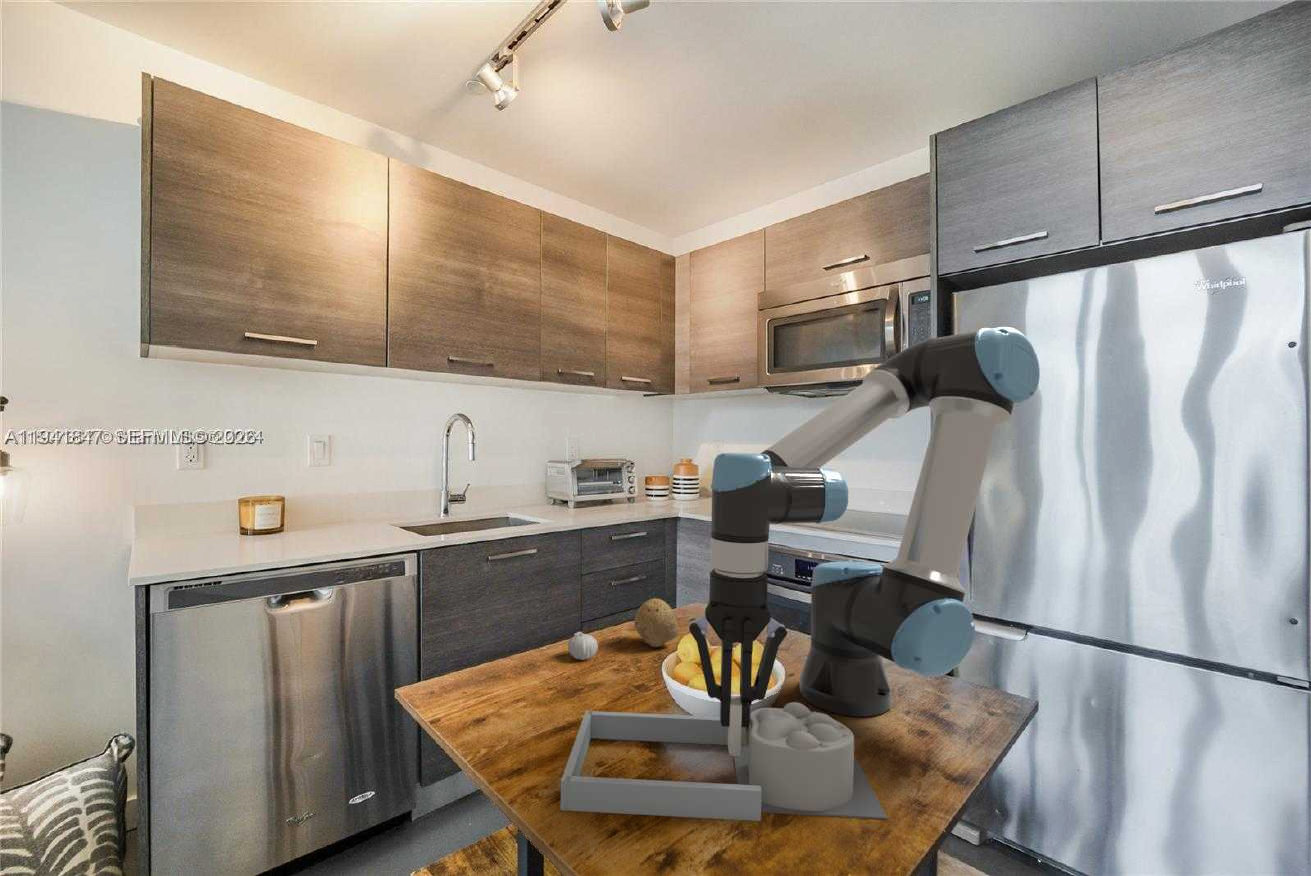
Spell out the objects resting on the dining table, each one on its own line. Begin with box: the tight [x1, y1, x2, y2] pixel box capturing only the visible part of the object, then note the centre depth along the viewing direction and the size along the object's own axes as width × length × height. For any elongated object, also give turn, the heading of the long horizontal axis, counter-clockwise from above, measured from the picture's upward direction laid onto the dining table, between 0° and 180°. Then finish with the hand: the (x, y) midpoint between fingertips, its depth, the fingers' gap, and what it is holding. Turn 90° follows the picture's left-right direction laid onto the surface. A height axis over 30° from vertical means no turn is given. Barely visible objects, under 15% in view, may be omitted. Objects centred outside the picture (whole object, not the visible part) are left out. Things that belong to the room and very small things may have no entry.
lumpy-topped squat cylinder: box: [748, 701, 855, 811], centre depth 73 cm, size 10×13×9 cm
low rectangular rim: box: [560, 710, 762, 822], centre depth 75 cm, size 24×17×4 cm
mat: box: [732, 745, 888, 820], centre depth 74 cm, size 17×14×1 cm
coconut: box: [634, 597, 679, 648], centre depth 120 cm, size 9×9×10 cm
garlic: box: [567, 631, 599, 661], centre depth 113 cm, size 6×5×5 cm
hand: (733, 749), depth 74 cm, fingers closed
